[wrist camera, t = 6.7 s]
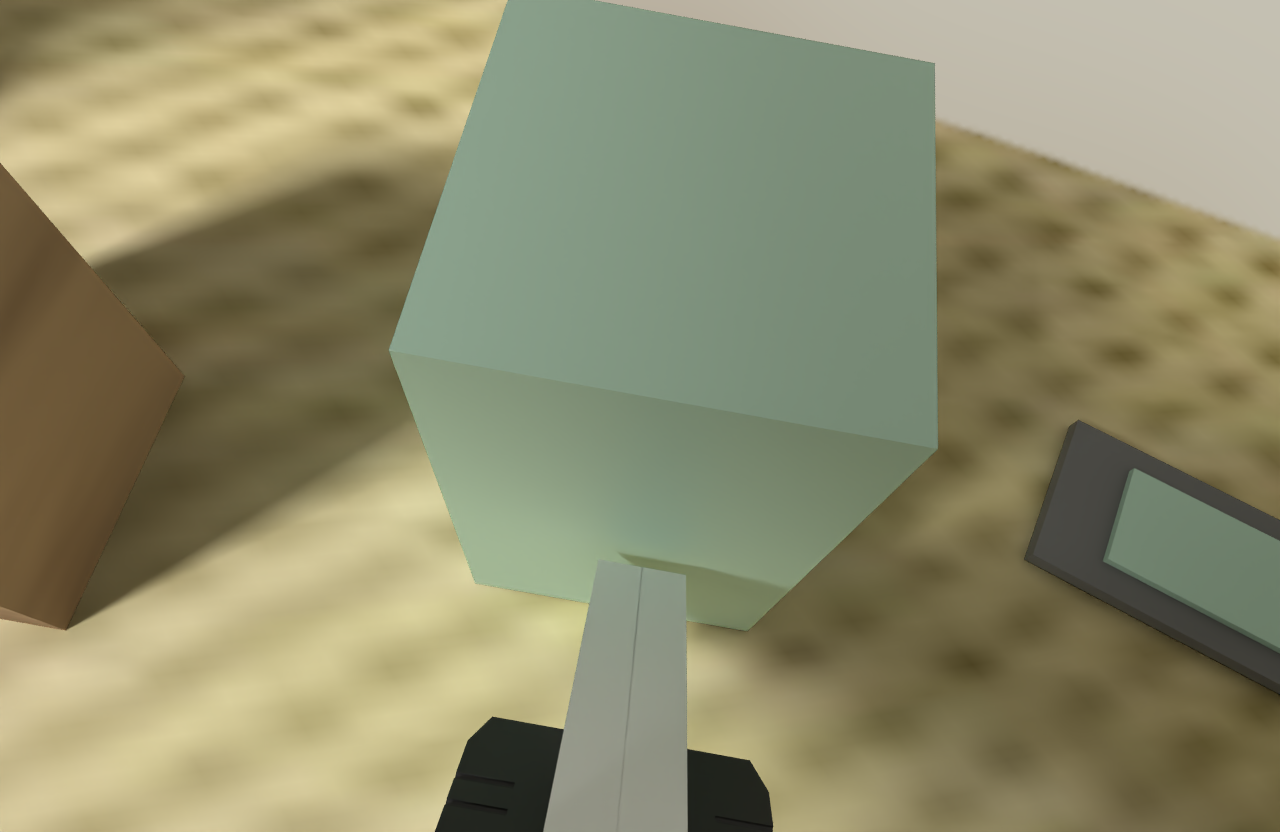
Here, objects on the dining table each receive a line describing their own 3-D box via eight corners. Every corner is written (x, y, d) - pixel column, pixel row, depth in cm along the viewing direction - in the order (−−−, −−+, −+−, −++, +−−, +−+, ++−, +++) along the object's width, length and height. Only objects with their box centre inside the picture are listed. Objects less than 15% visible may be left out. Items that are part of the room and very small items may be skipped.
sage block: (475, 583, 18) (388, 350, 9) (533, 348, 20) (513, -16, 11) (747, 631, 18) (938, 449, 9) (769, 391, 20) (934, 63, 11)
